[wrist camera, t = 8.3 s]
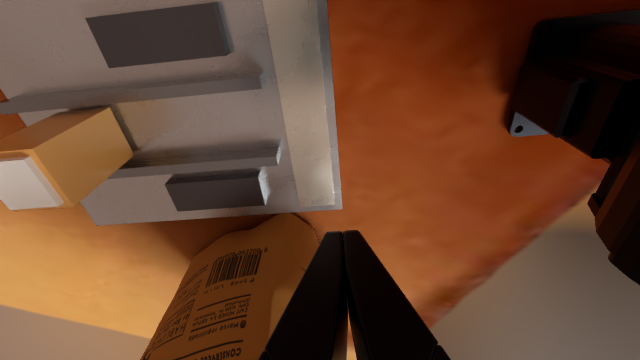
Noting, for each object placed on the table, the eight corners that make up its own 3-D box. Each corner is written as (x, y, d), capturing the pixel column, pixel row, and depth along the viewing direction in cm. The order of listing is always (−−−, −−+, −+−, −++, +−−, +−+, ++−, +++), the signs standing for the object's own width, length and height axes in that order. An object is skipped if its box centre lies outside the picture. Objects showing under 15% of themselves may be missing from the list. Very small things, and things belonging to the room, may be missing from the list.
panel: (323, -44, 14) (322, -52, 11) (341, 192, 22) (343, 220, 19) (-18, 0, 15) (-91, 3, 13) (113, 208, 23) (84, 237, 20)
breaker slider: (109, 107, 16) (26, 152, 11) (134, 155, 18) (69, 211, 13) (58, 112, 16) (-44, 158, 12) (87, 159, 18) (8, 215, 13)
